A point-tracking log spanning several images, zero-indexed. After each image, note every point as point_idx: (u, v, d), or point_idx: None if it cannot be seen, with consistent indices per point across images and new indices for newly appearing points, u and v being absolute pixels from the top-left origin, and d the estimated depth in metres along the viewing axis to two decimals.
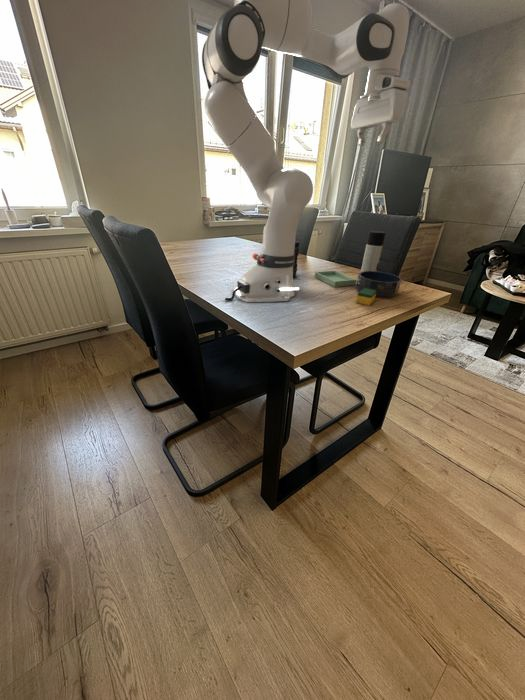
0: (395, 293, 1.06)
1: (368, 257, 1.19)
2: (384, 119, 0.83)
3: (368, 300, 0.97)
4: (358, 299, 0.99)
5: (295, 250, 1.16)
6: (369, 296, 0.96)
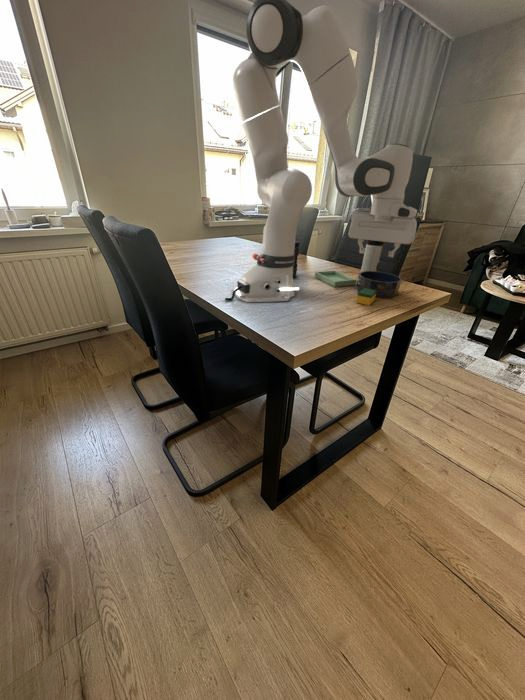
0: (395, 293, 1.06)
1: (368, 257, 1.19)
2: (399, 241, 0.87)
3: (368, 300, 0.97)
4: (358, 299, 0.99)
5: (295, 250, 1.16)
6: (369, 296, 0.96)
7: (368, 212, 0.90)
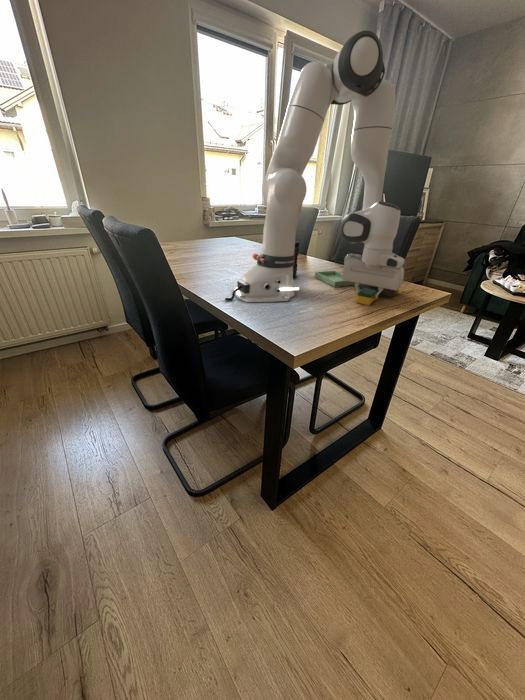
0: (395, 293, 1.06)
1: None
2: (387, 287, 0.94)
3: (368, 300, 0.97)
4: (358, 299, 0.99)
5: (295, 250, 1.16)
6: (369, 296, 0.96)
7: (359, 258, 0.96)
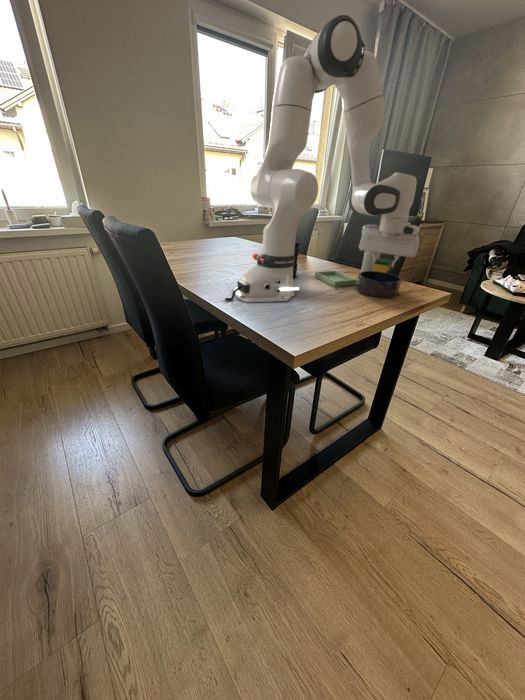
0: (395, 293, 1.06)
1: (368, 257, 1.19)
2: (403, 254, 1.00)
3: (385, 267, 1.03)
4: (375, 267, 1.05)
5: (295, 250, 1.16)
6: (386, 264, 1.03)
7: (377, 228, 1.03)
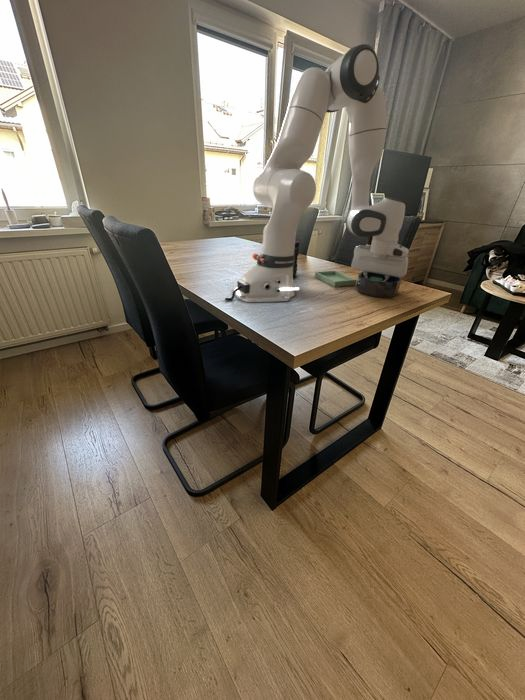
0: (395, 293, 1.06)
1: None
2: (393, 275, 1.04)
3: None
4: None
5: (295, 250, 1.16)
6: None
7: (368, 249, 1.07)
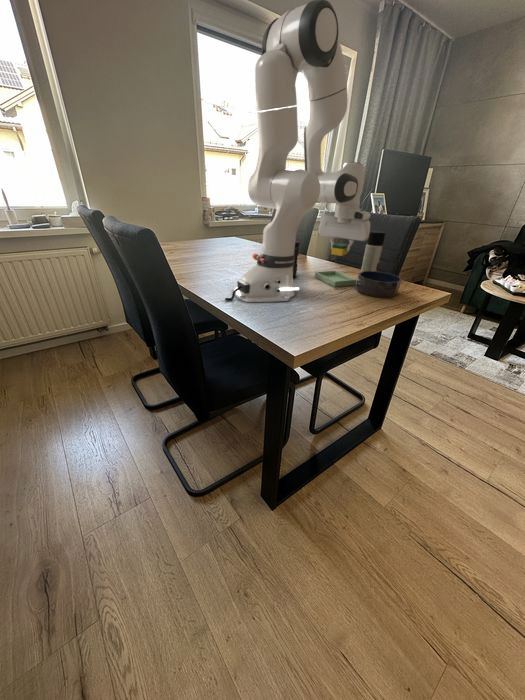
0: (395, 293, 1.06)
1: (368, 257, 1.19)
2: (356, 238, 1.09)
3: (341, 251, 1.13)
4: (332, 251, 1.15)
5: (295, 250, 1.16)
6: (341, 247, 1.12)
7: (333, 215, 1.12)
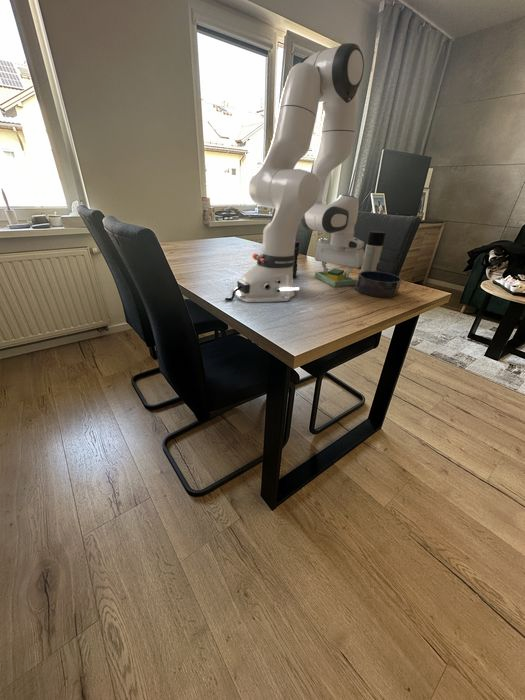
0: (395, 293, 1.06)
1: (368, 257, 1.19)
2: (351, 265, 1.14)
3: (336, 277, 1.18)
4: (328, 277, 1.20)
5: (295, 250, 1.16)
6: (336, 274, 1.17)
7: (328, 242, 1.17)
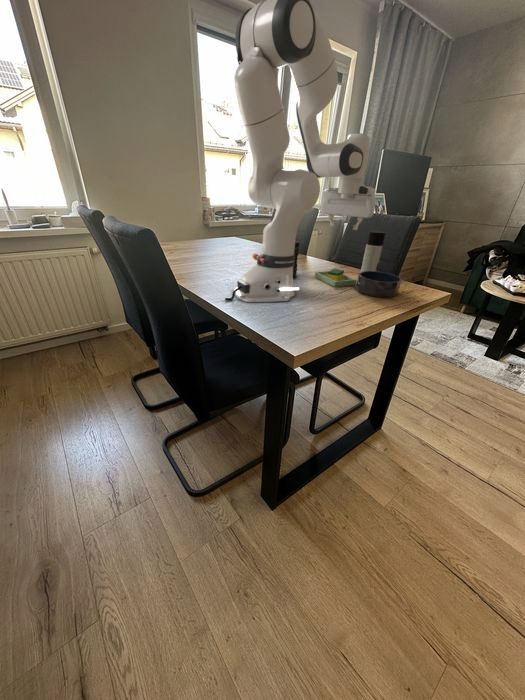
0: (395, 293, 1.06)
1: (368, 257, 1.19)
2: (360, 215, 1.05)
3: (336, 277, 1.18)
4: (328, 277, 1.20)
5: (295, 250, 1.16)
6: (336, 274, 1.17)
7: (336, 191, 1.08)
